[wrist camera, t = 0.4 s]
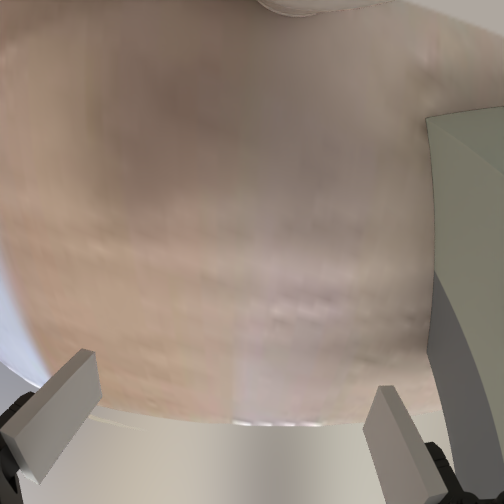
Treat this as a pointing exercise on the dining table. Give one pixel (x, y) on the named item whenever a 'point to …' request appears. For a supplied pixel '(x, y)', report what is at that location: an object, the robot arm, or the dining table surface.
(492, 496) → the two-tone stepped block
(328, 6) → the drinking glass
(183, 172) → the dining table surface
